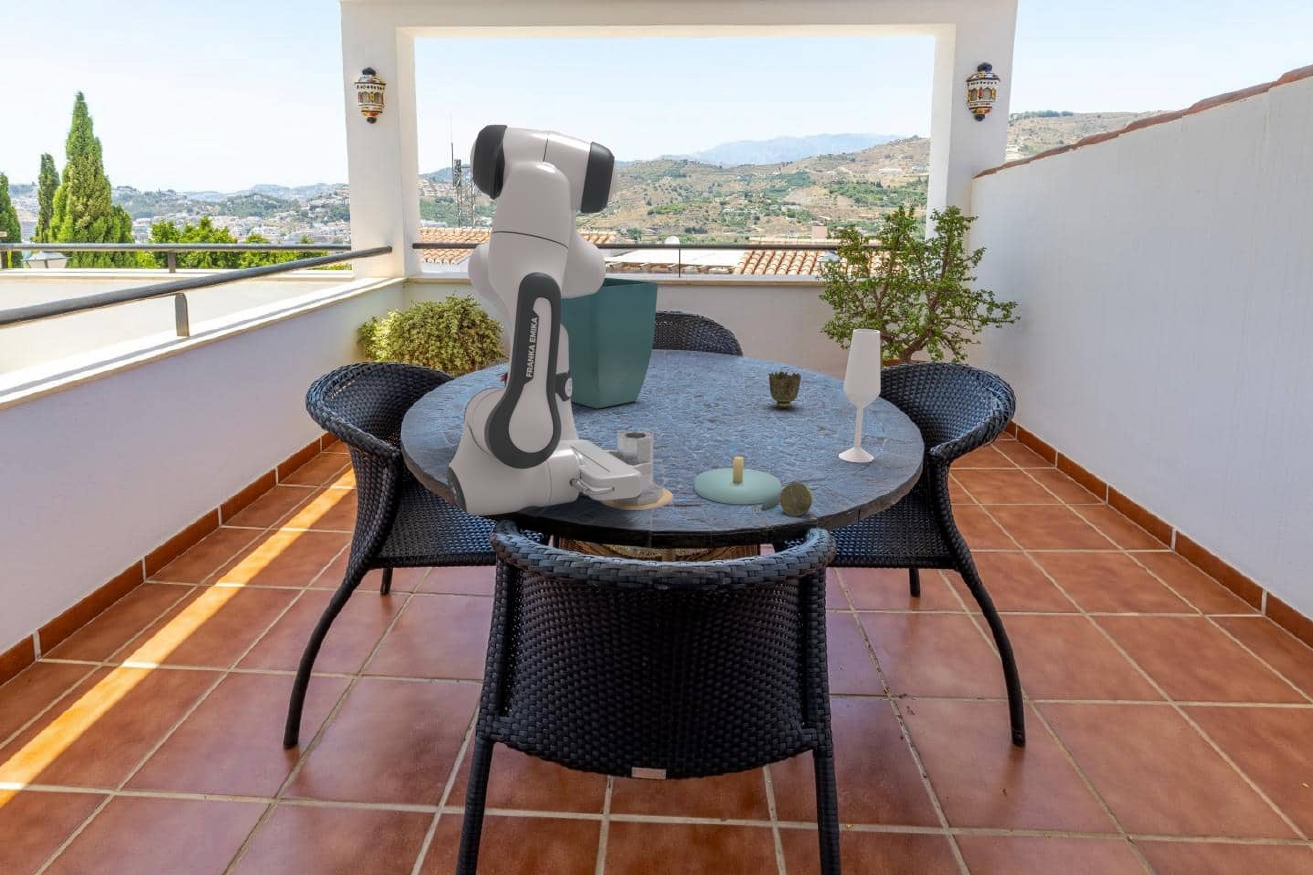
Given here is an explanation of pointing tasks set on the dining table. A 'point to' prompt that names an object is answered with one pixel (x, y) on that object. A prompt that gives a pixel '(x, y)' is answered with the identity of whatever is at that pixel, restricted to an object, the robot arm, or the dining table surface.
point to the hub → (739, 486)
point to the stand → (662, 501)
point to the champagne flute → (862, 383)
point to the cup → (784, 388)
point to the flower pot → (610, 341)
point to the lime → (796, 499)
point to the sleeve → (631, 452)
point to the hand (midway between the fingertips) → (640, 461)
